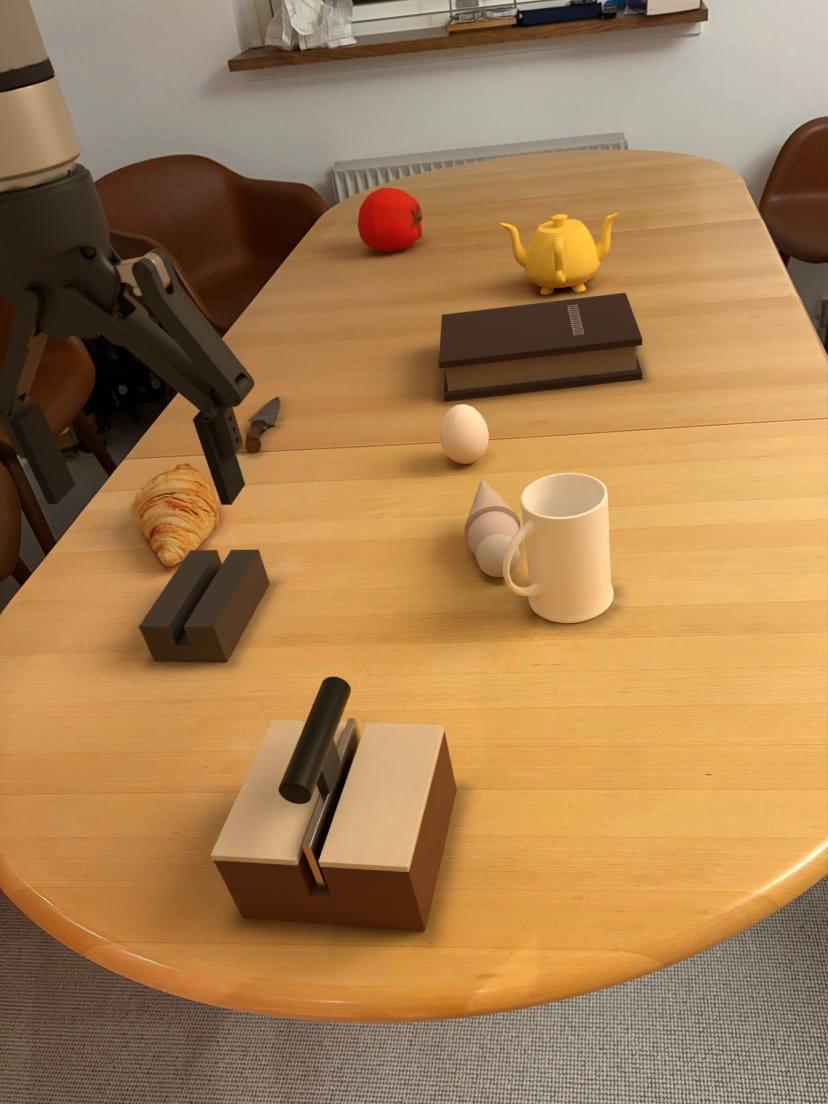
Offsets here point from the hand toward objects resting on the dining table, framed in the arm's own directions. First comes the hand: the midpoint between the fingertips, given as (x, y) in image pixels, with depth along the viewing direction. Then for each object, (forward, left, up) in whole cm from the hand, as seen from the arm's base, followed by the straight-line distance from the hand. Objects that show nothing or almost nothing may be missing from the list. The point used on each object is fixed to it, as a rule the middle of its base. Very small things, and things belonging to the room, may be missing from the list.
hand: (146, 495), depth 66 cm
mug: (+26, +20, -26) cm, 42 cm away
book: (+18, +78, -26) cm, 84 cm away
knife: (-20, +61, -26) cm, 69 cm away
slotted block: (-10, +17, -25) cm, 32 cm away
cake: (+13, -11, -25) cm, 31 cm away
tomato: (-18, +137, -26) cm, 140 cm away
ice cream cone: (+18, +30, -26) cm, 43 cm away
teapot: (+19, +109, -26) cm, 113 cm away
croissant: (-21, +34, -26) cm, 48 cm away
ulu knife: (+13, -11, -22) cm, 28 cm away
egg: (+12, +49, -26) cm, 56 cm away
